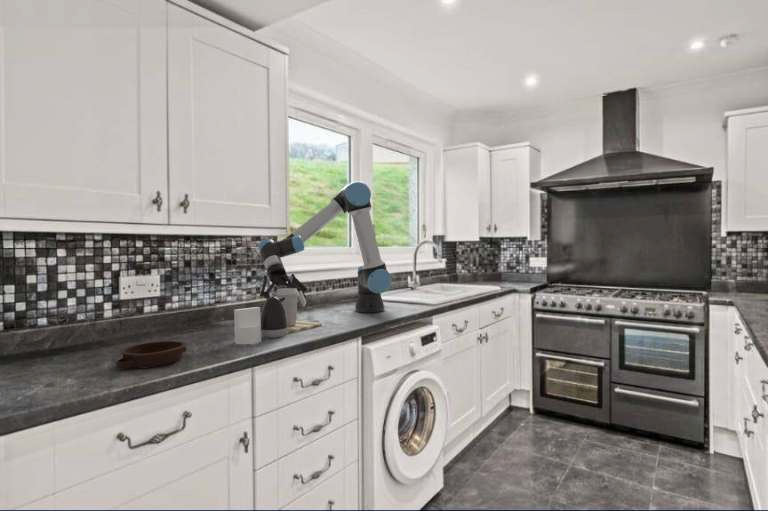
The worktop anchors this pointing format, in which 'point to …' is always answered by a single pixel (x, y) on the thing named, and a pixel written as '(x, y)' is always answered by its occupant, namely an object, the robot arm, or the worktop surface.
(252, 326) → the grey square canister
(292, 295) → the coffee cup
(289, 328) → the birch board
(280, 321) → the dark egg shaped speaker
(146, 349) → the dish
